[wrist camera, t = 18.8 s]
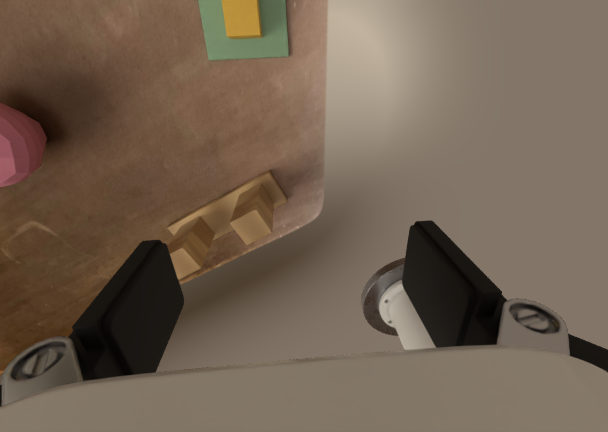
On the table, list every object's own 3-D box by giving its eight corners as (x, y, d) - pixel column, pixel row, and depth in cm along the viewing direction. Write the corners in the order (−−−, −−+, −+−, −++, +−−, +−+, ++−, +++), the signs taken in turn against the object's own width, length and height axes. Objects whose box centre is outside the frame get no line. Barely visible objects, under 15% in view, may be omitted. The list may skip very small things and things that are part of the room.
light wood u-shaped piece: (269, 169, 38) (265, 196, 31) (287, 199, 41) (288, 230, 33) (169, 224, 41) (142, 261, 33) (191, 249, 43) (170, 289, 36)
